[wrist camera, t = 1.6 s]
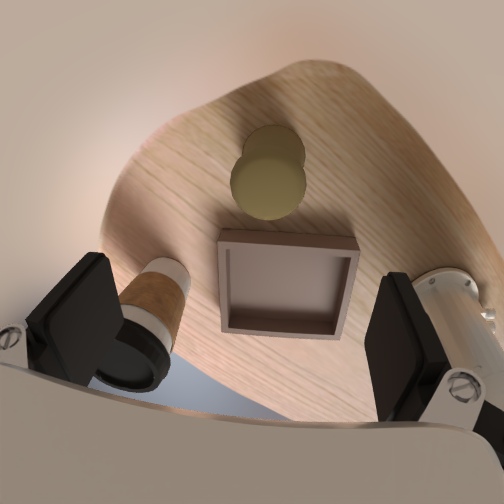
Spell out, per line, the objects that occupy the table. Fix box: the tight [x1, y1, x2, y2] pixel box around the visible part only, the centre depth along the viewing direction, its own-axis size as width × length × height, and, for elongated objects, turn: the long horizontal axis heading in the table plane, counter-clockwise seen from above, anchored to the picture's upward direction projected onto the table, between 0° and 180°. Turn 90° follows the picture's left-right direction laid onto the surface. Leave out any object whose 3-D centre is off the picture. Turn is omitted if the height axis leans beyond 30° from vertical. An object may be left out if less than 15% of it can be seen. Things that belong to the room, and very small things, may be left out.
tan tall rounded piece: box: [230, 125, 306, 220], centre depth 25 cm, size 6×6×11 cm
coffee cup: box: [93, 257, 191, 393], centre depth 32 cm, size 8×8×15 cm
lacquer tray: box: [217, 228, 360, 340], centre depth 35 cm, size 14×12×3 cm
